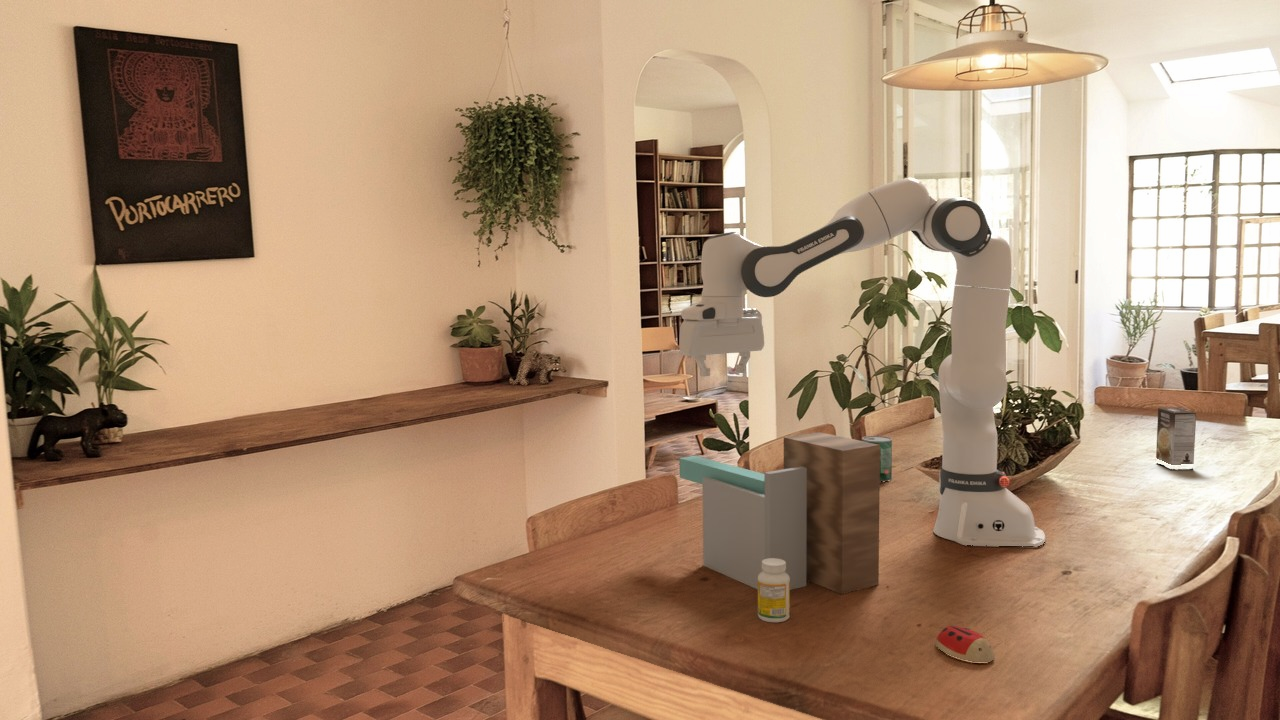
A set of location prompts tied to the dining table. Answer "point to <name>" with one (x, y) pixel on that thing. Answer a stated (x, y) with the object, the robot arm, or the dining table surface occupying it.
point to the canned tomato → (883, 455)
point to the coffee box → (1176, 435)
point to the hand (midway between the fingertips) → (723, 374)
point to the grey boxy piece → (756, 526)
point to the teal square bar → (720, 473)
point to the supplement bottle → (773, 591)
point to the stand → (839, 508)
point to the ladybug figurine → (965, 644)
